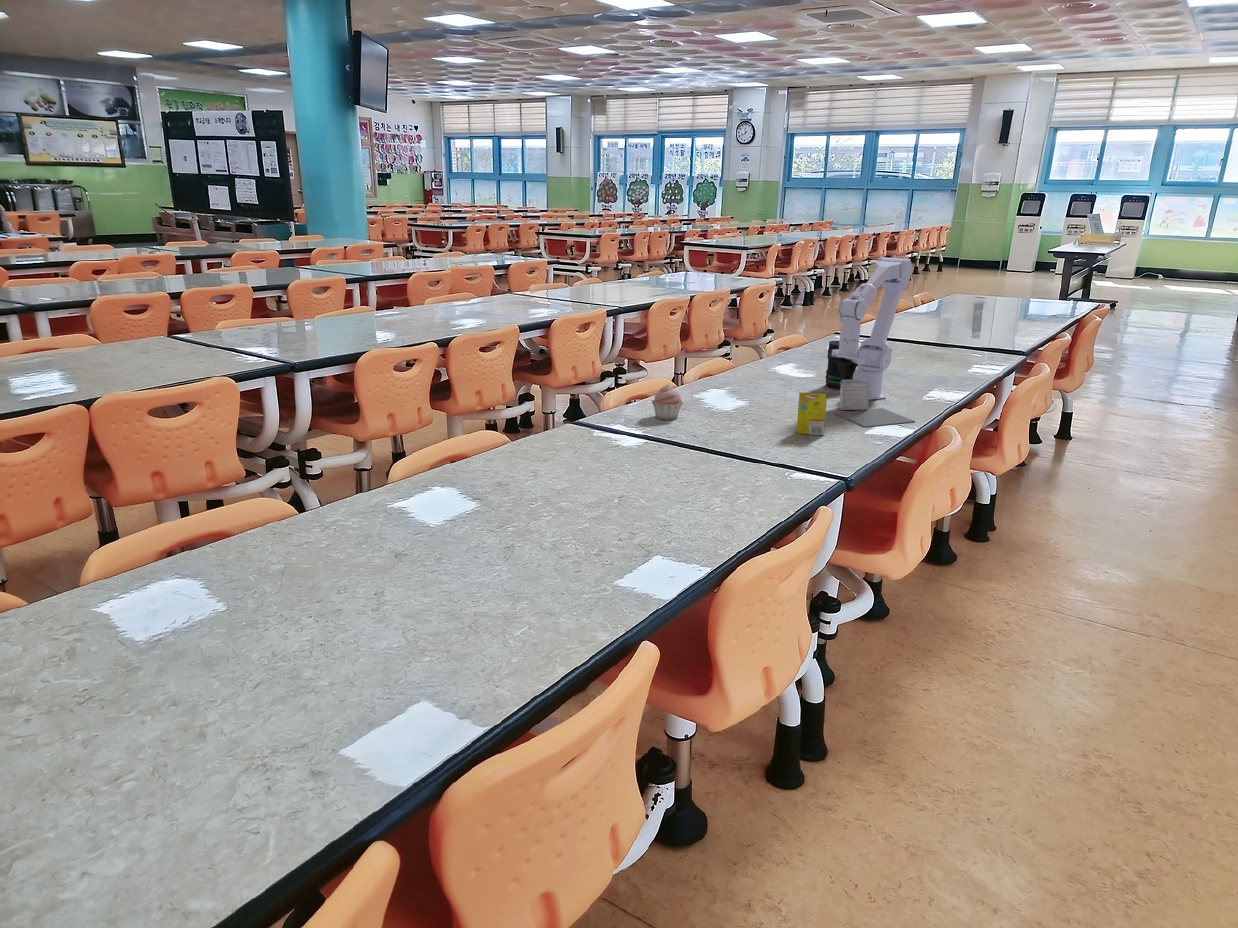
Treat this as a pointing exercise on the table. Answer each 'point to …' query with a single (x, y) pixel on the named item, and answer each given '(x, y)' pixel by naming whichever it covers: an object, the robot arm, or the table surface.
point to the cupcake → (667, 403)
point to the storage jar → (833, 368)
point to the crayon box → (811, 414)
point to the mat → (874, 417)
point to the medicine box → (854, 394)
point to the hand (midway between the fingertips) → (845, 383)
